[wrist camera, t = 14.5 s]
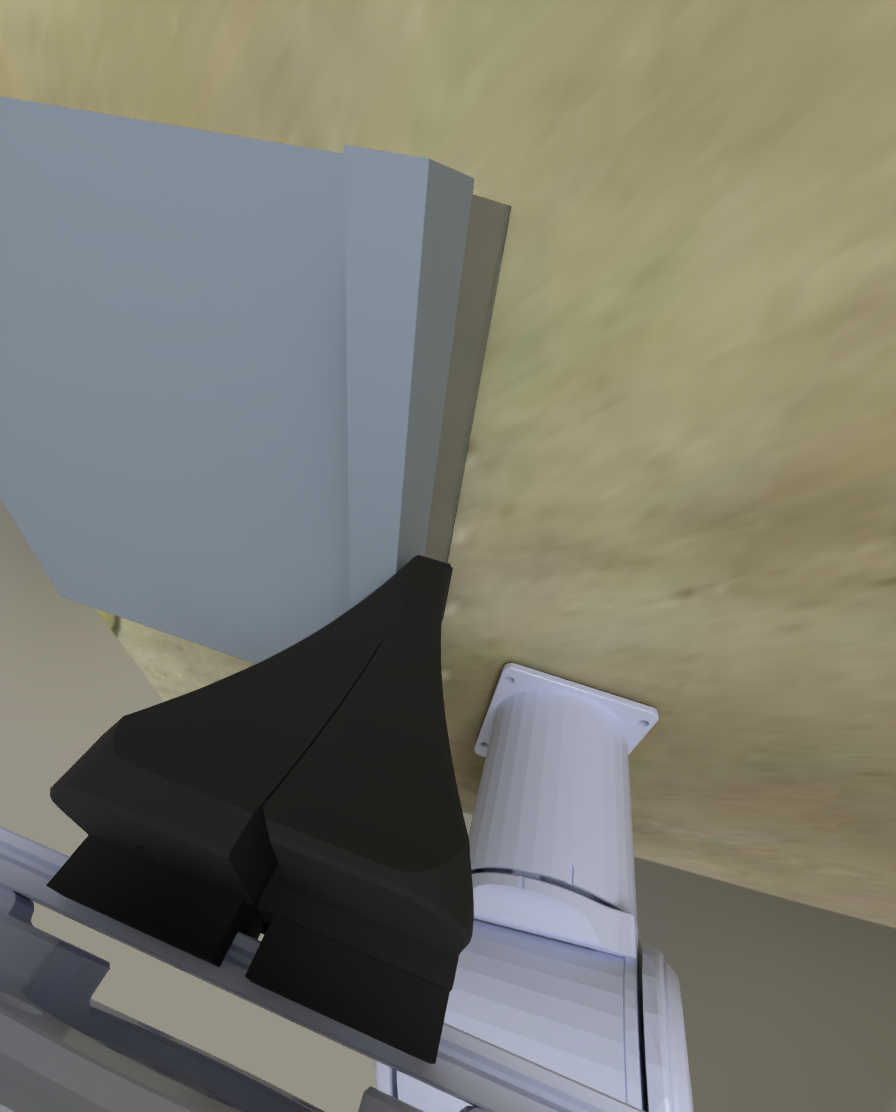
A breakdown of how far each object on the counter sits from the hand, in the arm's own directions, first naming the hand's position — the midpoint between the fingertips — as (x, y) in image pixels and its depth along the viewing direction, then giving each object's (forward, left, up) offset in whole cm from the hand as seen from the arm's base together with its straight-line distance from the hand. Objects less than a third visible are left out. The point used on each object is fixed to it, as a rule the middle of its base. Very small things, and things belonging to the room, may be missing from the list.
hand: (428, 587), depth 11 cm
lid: (0, +9, -2) cm, 9 cm away
